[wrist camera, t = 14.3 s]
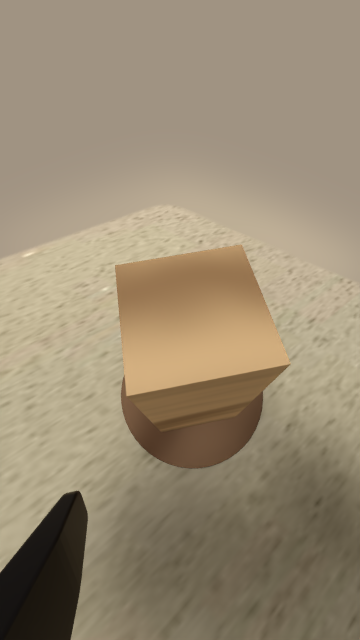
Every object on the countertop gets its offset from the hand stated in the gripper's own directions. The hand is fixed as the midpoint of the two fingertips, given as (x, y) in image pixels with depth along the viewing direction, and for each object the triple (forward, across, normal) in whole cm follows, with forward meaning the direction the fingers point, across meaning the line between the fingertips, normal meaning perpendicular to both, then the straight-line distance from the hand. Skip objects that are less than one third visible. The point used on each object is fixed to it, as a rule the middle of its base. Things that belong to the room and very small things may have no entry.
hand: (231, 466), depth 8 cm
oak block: (+12, 0, +4) cm, 13 cm away
